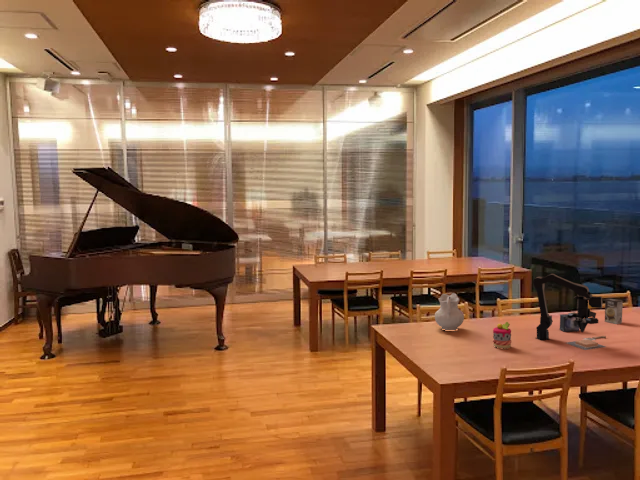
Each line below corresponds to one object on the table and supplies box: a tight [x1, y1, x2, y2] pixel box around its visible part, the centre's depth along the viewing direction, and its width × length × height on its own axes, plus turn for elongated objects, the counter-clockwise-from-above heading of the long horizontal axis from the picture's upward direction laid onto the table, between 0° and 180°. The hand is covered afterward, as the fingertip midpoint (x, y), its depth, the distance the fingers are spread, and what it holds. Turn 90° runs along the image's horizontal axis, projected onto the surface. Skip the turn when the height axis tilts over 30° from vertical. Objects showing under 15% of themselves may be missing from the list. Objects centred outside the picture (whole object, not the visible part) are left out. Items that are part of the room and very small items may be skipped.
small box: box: [559, 313, 580, 333], centre depth 351 cm, size 11×6×10 cm, turn 92°
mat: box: [565, 340, 607, 351], centre depth 318 cm, size 16×16×1 cm
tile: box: [575, 339, 599, 348], centre depth 317 cm, size 9×2×8 cm
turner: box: [583, 335, 607, 341], centre depth 330 cm, size 15×5×1 cm, turn 108°
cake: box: [492, 321, 512, 350], centre depth 320 cm, size 10×10×15 cm
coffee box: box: [604, 298, 624, 325], centre depth 368 cm, size 9×6×16 cm
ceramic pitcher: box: [434, 292, 465, 330], centre depth 360 cm, size 22×20×25 cm
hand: (582, 332), depth 319 cm, fingers closed
